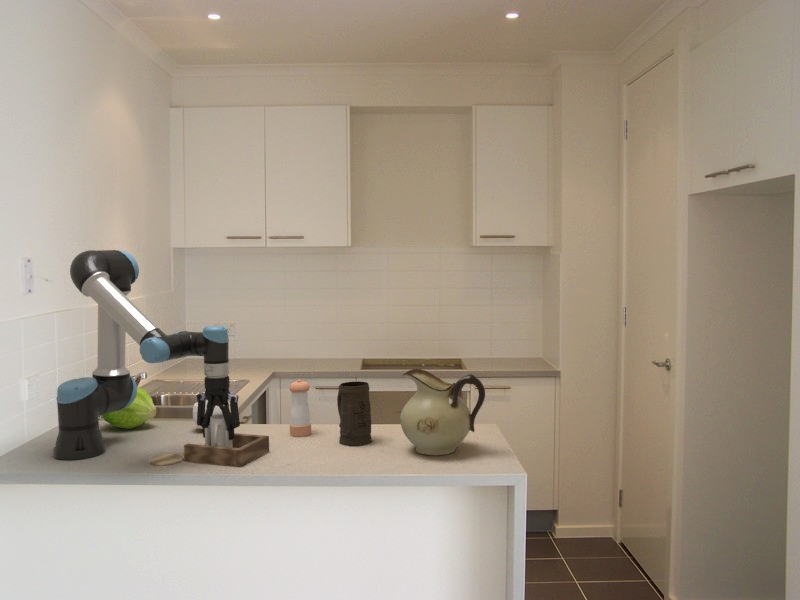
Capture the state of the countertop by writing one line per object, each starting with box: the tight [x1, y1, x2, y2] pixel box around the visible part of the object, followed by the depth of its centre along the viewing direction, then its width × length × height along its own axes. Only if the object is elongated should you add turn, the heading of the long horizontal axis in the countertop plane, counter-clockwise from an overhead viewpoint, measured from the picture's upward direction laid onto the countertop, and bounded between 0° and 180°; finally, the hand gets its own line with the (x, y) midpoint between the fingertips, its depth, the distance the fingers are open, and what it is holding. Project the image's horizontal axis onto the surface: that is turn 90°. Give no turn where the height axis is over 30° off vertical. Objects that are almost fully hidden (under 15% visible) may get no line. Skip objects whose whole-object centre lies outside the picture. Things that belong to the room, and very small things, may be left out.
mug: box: [210, 414, 227, 447], centre depth 217 cm, size 10×7×12 cm, turn 179°
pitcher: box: [399, 368, 486, 456], centre depth 219 cm, size 22×24×25 cm
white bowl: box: [192, 399, 224, 430], centre depth 250 cm, size 12×12×10 cm
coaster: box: [148, 453, 185, 466], centre depth 213 cm, size 10×10×1 cm
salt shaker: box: [288, 379, 312, 438], centre depth 241 cm, size 7×7×19 cm
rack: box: [183, 432, 270, 468], centre depth 217 cm, size 20×17×5 cm
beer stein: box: [336, 380, 373, 447], centre depth 232 cm, size 15×11×20 cm
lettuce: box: [101, 386, 157, 430], centre depth 255 cm, size 17×20×15 cm
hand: (219, 448), depth 218 cm, fingers closed on mug, 7 cm apart
